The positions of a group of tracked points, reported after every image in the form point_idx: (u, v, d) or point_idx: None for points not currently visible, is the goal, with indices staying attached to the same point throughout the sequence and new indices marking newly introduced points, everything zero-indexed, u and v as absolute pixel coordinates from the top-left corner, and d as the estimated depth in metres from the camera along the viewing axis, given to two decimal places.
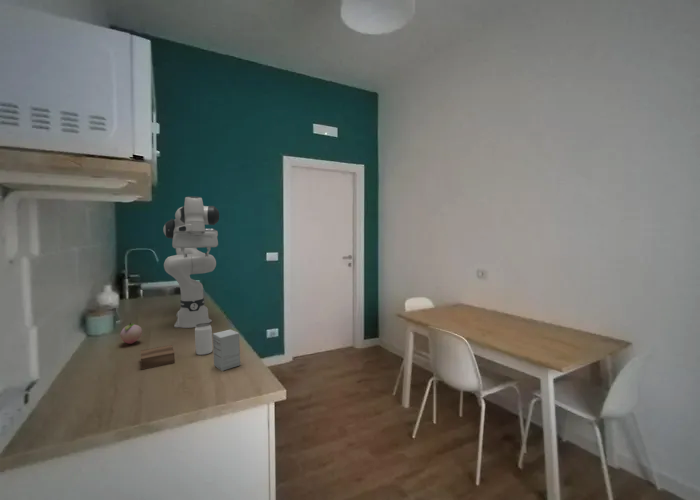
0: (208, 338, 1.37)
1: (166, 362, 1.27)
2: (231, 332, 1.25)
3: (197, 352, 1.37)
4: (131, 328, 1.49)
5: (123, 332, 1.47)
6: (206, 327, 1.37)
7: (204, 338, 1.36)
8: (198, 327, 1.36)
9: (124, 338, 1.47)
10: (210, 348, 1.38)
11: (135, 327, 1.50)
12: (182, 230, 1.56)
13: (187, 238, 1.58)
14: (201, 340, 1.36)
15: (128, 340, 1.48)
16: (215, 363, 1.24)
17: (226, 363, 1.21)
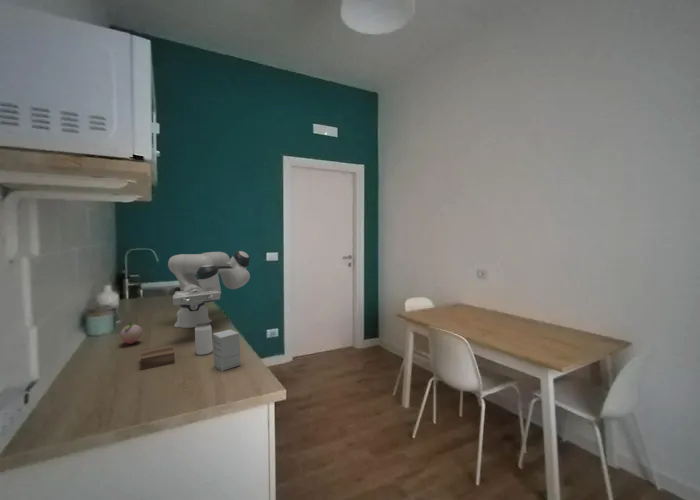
0: (208, 338, 1.37)
1: (166, 362, 1.27)
2: (231, 332, 1.25)
3: (197, 352, 1.37)
4: (131, 328, 1.49)
5: (123, 332, 1.47)
6: (206, 327, 1.37)
7: (204, 338, 1.36)
8: (198, 327, 1.36)
9: (124, 338, 1.47)
10: (210, 348, 1.38)
11: (135, 327, 1.50)
12: (181, 291, 1.56)
13: (187, 294, 1.54)
14: (201, 340, 1.36)
15: (128, 340, 1.48)
16: (215, 363, 1.24)
17: (226, 363, 1.21)
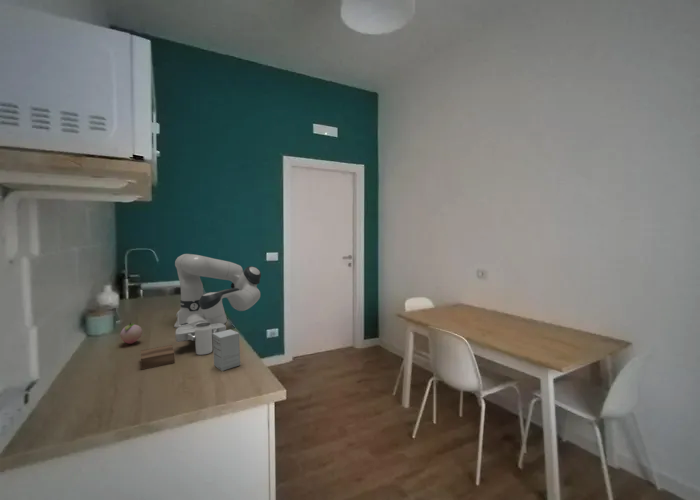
0: (208, 338, 1.37)
1: (166, 362, 1.27)
2: (231, 332, 1.25)
3: (197, 352, 1.37)
4: (131, 328, 1.49)
5: (123, 332, 1.47)
6: (206, 327, 1.37)
7: (204, 338, 1.36)
8: (198, 327, 1.36)
9: (124, 338, 1.47)
10: (210, 348, 1.38)
11: (135, 327, 1.50)
12: (184, 324, 1.46)
13: (191, 329, 1.44)
14: (201, 340, 1.36)
15: (128, 340, 1.48)
16: (215, 363, 1.24)
17: (226, 363, 1.21)
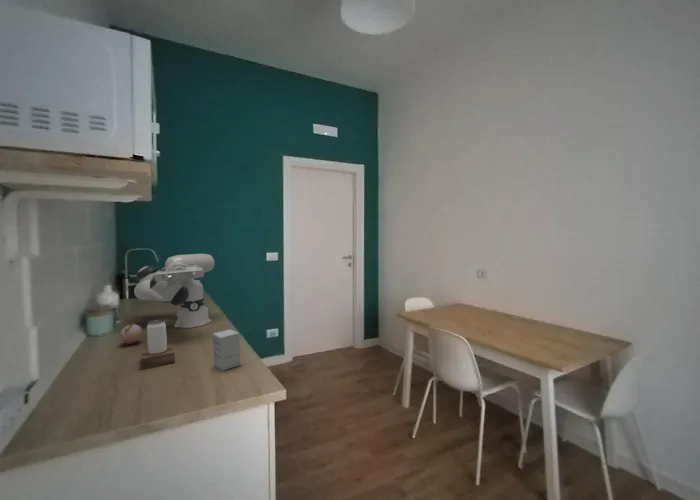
0: (161, 336, 1.28)
1: (166, 362, 1.27)
2: (231, 332, 1.25)
3: (149, 351, 1.27)
4: (131, 328, 1.49)
5: (123, 332, 1.47)
6: (159, 324, 1.28)
7: (156, 336, 1.27)
8: (150, 324, 1.27)
9: (124, 338, 1.47)
10: (164, 347, 1.29)
11: (135, 327, 1.50)
12: (192, 278, 1.61)
13: None
14: (153, 338, 1.26)
15: (128, 340, 1.48)
16: (215, 363, 1.24)
17: (226, 363, 1.21)
